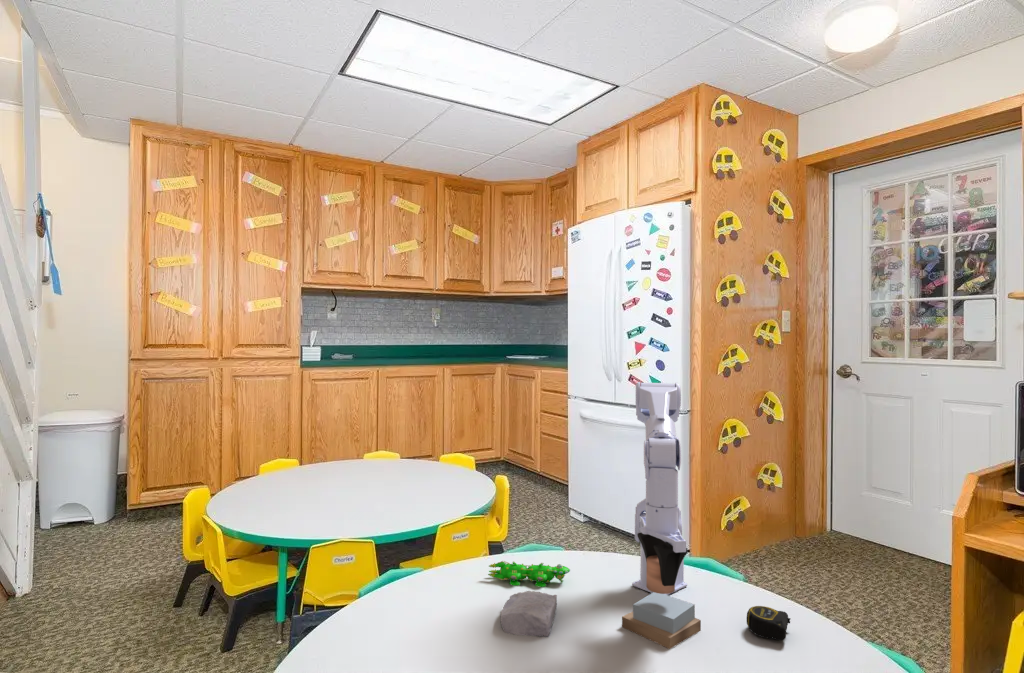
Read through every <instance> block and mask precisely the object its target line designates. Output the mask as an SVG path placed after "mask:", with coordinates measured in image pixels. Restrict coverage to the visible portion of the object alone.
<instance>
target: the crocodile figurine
mask: <svg viewBox="0 0 1024 673" xmlns="http://www.w3.org/2000/svg"><path fill="white" fill-rule="evenodd" d="M488 567H490V568H495V569H491V570H488V572H489V573H488V574H487V575H488V576H489V577H491V578H493V579H495V578H496V579H498V580H500V581H505V580H506V581H509V583H508V584H509V585H512V586H514V587H516V586H517V587H518V586H521V582H522V581H523V580H530V582H533V581H535V583H534V586H535V587H539V588H545V587H547V583H551V581H552V580H553V579H554V578H555V579H557V580H558V581H560V582H561V583H563V582H564V578H565V576H566V574H569V573H570V572H571V569H570V568H569V567H567V566H565V565H562V564H560V563H559V564H557V565H556V566H550V564H547V565H544V562H540V563H539V564H533V563H532V564H531V565H526V564H524V563H521V564H518V563H516V562H515V561H512V563H510V562H507V561H505V560H502V561H499V562H494V563H491V564H490V565H488ZM496 568H500V569H496ZM520 581H521V582H520Z"/></svg>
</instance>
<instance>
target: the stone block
mask: <svg viewBox="0 0 1024 673" xmlns="http://www.w3.org/2000/svg"><path fill="white" fill-rule="evenodd" d="M557 599H558V596H557V594H548V593H546V592H541V591H534V590H532V591H531V590H528V591H527V590H526V591H524V592H523V591H522V592H517V593H514V594H511V595H510V596H509V599H507V600H506V602H505V603H504V605H503V607H502V609H501V611H500V624H501V628H502V629H503V631H504V633H507V634H512V635H515V636H516V635H517V636H522V635H523V636H534V637H549V636H550V634H551V631H552V628H553V624H554V621H555V617H556V612H557V607H558V600H557Z"/></svg>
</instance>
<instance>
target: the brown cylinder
mask: <svg viewBox="0 0 1024 673" xmlns="http://www.w3.org/2000/svg"><path fill="white" fill-rule="evenodd" d="M647 589H648V590H650V591H652V592H655V593H660V594H669V593H671V594H673V593H675V592H676V591H675V585H674V586H663V585H662V581H661V573H660V565H659V560H658V556H657V555H654V556H649V557H647ZM674 591H675V592H674ZM672 592H673V593H672ZM669 595H670V594H669Z"/></svg>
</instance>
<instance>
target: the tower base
mask: <svg viewBox="0 0 1024 673" xmlns="http://www.w3.org/2000/svg"><path fill="white" fill-rule="evenodd" d="M701 624H702V619H700V618H698V617H695V618H694V619H693V620H692V621H690V622H689V623H688V624H686V625H685V626H684V627H682V628H681V629H680V630H678V631H677V632H675V633H674V634H672V633H670V632H667V631H665V630H662V629H659V628H657V627H654V626H652V625H649V624H647V623H644V622H642V621H639V620H637V619H634V618H633V611H630V612H629V613H627V614H624V615H623V616H622V617H621V628H623V629H626V630H627V631H629V632H631V633H634V634H636V635H638V636H640V637H642V638H645V639H646V640H649V641H652V642H654V643H655V644H657V645H660V646H662V647H665V648H666V649H668V650H671V649H672V648H674V647H676V646H677V645H679V644H681V643H682V642H684V641H685V640H688V638H691V637H692V636H695V635H696V634H697V633H699V632H700V631H702V630H701V629H702V628H701V627H702V626H701Z"/></svg>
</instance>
